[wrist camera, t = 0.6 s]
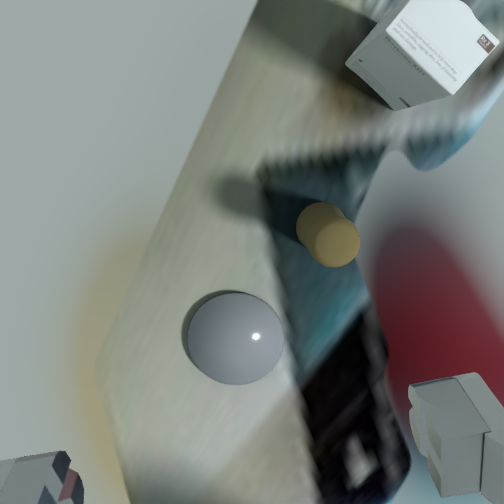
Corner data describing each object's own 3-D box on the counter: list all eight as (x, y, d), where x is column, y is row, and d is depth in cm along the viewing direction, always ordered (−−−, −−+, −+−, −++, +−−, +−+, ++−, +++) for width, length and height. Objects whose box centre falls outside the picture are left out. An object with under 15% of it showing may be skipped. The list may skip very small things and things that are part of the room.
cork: (302, 257, 56) (313, 282, 46) (290, 209, 55) (298, 223, 44) (351, 244, 56) (374, 266, 45) (339, 195, 55) (360, 206, 44)
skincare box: (343, 64, 52) (376, 29, 37) (380, 19, 51) (429, -35, 36) (398, 114, 53) (451, 99, 38) (435, 71, 52) (505, 38, 37)
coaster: (303, 343, 59) (303, 345, 58) (231, 399, 60) (231, 402, 59) (240, 272, 57) (240, 274, 56) (168, 332, 58) (167, 335, 58)
